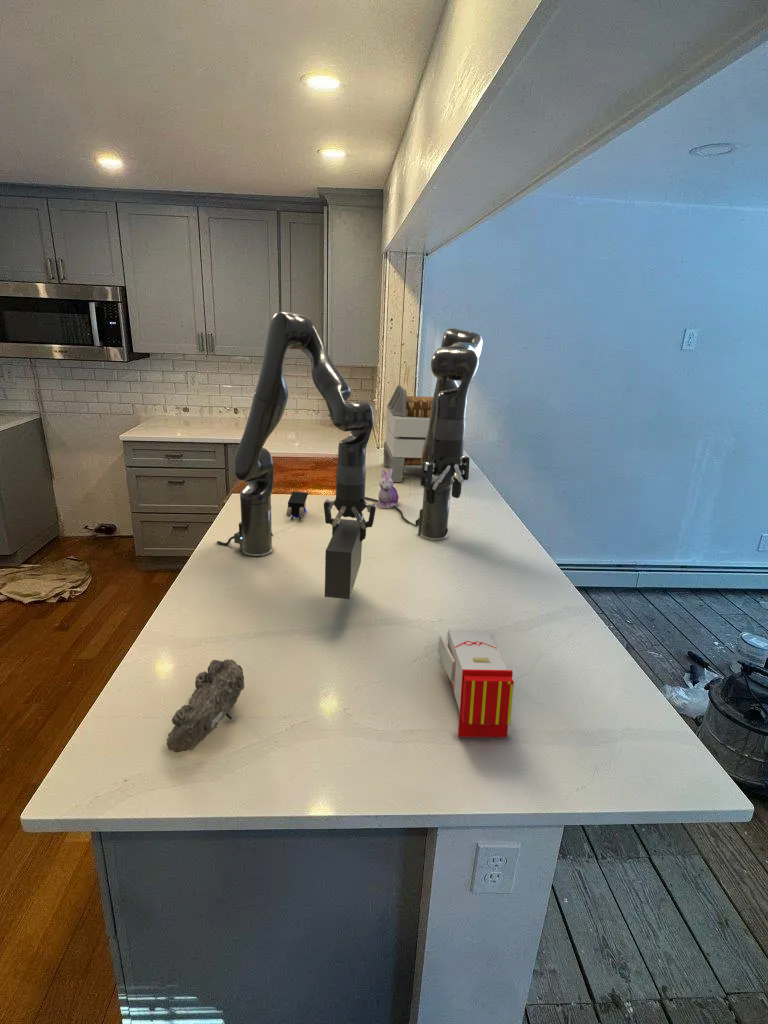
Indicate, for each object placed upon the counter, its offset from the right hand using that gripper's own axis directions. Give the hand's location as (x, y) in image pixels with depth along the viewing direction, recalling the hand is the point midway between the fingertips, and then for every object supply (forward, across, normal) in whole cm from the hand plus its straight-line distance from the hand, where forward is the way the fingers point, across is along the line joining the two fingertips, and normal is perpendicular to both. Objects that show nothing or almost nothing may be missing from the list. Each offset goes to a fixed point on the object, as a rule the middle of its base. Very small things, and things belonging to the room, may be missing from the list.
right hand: (443, 500), depth 140 cm
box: (+23, +18, -16) cm, 33 cm away
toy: (+31, +18, +29) cm, 46 cm away
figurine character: (+30, -7, -80) cm, 86 cm away
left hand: (+15, +13, -21) cm, 29 cm away
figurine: (+30, -43, -71) cm, 89 cm away
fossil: (+31, +64, +5) cm, 71 cm away
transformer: (+30, -87, -100) cm, 136 cm away
